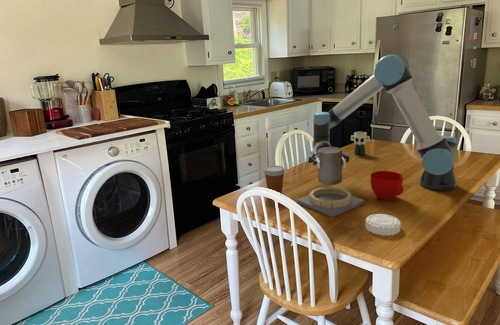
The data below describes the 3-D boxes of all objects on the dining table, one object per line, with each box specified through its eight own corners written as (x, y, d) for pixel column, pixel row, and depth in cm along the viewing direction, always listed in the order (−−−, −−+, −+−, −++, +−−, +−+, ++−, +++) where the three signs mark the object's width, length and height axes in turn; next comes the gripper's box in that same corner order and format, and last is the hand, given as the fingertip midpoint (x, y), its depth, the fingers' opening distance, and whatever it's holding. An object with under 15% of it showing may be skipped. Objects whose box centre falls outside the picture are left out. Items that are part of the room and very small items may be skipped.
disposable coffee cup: (284, 197, 170) (283, 171, 167) (262, 196, 172) (261, 171, 168) (286, 189, 179) (285, 165, 175) (266, 189, 181) (265, 165, 177)
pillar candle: (340, 177, 164) (340, 143, 160) (343, 185, 155) (343, 149, 150) (317, 177, 165) (317, 144, 161) (318, 185, 156) (318, 149, 152)
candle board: (364, 203, 160) (364, 194, 158) (332, 217, 148) (332, 207, 147) (327, 191, 175) (327, 182, 174) (296, 202, 163) (296, 194, 162)
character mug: (349, 154, 231) (350, 133, 227) (351, 151, 237) (352, 131, 233) (368, 156, 226) (369, 134, 223) (369, 152, 233) (370, 132, 229)
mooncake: (392, 220, 144) (393, 211, 143) (405, 235, 132) (406, 225, 131) (360, 222, 143) (361, 213, 142) (371, 237, 132) (372, 227, 131)
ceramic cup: (387, 208, 153) (388, 185, 151) (363, 194, 169) (364, 173, 166) (414, 203, 157) (416, 180, 154) (388, 190, 172) (390, 169, 170)
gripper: (348, 157, 175) (359, 172, 154) (299, 159, 176) (303, 174, 155) (348, 141, 173) (360, 154, 151) (299, 143, 174) (303, 156, 153)
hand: (331, 164), depth 153 cm, fingers closed on pillar candle, 9 cm apart
